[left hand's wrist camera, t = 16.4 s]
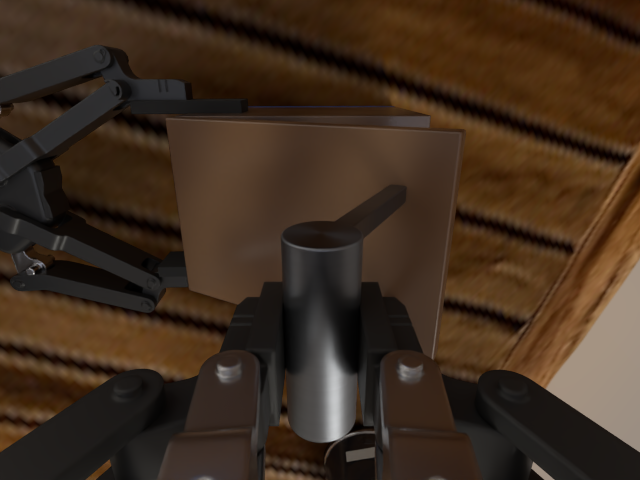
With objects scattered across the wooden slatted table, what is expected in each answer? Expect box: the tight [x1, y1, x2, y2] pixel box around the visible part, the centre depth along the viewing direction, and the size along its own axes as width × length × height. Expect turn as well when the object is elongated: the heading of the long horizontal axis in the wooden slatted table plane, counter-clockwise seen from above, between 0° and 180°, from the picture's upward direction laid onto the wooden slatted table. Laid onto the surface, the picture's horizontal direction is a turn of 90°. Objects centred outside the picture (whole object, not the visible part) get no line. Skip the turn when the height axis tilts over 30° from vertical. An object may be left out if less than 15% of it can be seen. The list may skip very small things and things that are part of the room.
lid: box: [166, 117, 466, 443], centre depth 16 cm, size 15×10×9 cm
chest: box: [176, 106, 431, 128], centre depth 28 cm, size 14×10×11 cm
